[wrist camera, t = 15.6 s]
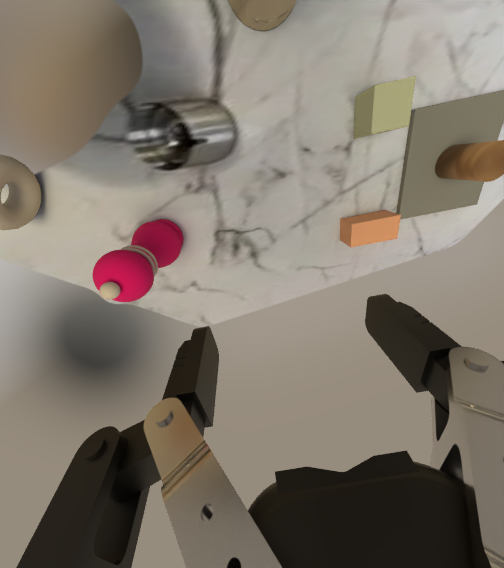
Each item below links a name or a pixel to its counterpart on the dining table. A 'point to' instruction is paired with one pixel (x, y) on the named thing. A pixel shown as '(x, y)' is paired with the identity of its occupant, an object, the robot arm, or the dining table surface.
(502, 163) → the walnut cylinder
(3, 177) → the donut
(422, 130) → the slate mat
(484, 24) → the dining table surface
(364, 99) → the sage cube
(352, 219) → the terracotta brick
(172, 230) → the pepper mill
